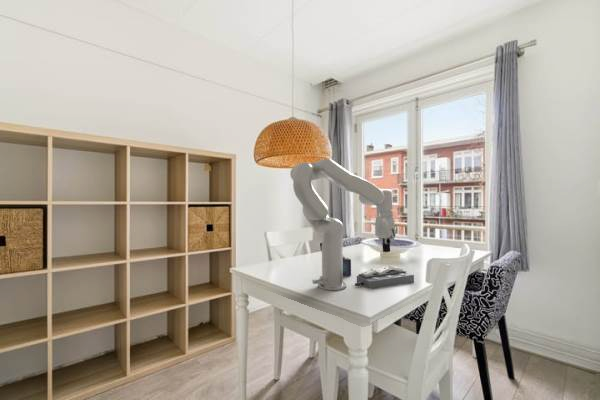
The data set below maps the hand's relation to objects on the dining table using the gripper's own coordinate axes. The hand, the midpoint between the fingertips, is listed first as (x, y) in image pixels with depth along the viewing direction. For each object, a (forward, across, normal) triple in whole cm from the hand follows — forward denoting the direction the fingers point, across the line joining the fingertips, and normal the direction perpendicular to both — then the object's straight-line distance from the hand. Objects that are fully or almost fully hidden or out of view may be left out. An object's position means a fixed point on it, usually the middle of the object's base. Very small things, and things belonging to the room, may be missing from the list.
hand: (386, 251), depth 135 cm
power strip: (+14, +2, -5) cm, 15 cm away
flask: (+14, -18, -15) cm, 27 cm away
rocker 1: (+9, 0, -11) cm, 14 cm away
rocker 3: (+10, 0, +5) cm, 11 cm away
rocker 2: (+9, 0, -3) cm, 10 cm away
